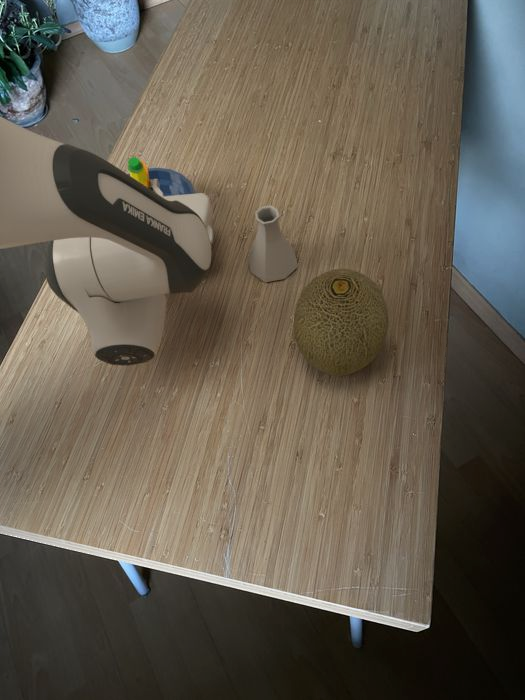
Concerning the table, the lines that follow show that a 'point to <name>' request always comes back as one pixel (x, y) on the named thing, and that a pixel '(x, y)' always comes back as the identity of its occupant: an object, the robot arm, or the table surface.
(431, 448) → the table surface
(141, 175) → the toy figure
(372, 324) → the fruit
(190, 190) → the bowl
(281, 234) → the flask
